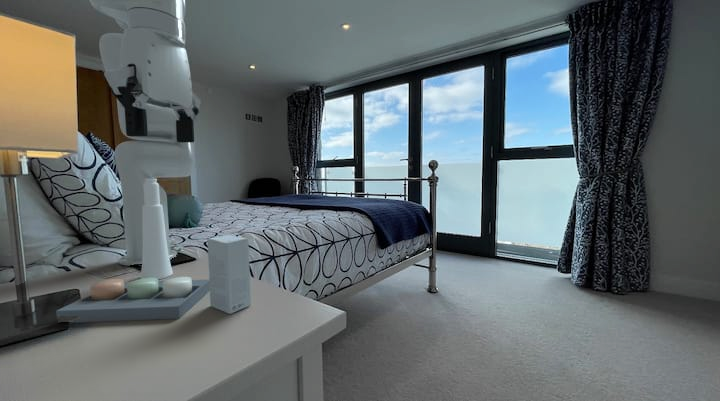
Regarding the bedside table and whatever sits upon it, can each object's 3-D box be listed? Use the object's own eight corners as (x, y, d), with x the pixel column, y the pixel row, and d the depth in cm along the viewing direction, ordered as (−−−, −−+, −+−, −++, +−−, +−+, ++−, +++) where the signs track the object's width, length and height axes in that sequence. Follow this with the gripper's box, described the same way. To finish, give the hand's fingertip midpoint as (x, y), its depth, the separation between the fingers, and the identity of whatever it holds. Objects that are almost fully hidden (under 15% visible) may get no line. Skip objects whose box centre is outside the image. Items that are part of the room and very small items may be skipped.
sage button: (138, 290, 54) (137, 278, 53) (164, 290, 54) (163, 277, 54) (121, 301, 49) (120, 287, 49) (148, 300, 50) (147, 286, 49)
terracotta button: (105, 291, 53) (104, 279, 53) (130, 291, 54) (129, 278, 53) (84, 302, 49) (83, 288, 49) (112, 301, 49) (111, 287, 49)
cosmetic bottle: (140, 275, 67) (133, 178, 65) (171, 270, 70) (166, 178, 68) (140, 283, 62) (133, 178, 60) (174, 277, 66) (168, 178, 64)
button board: (115, 292, 57) (114, 282, 57) (211, 289, 58) (210, 279, 58) (57, 323, 45) (56, 310, 45) (179, 318, 47) (178, 306, 46)
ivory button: (172, 289, 54) (171, 277, 54) (196, 288, 54) (196, 276, 54) (157, 299, 50) (156, 286, 50) (184, 298, 50) (183, 285, 50)
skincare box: (251, 305, 51) (249, 238, 50) (229, 315, 48) (226, 243, 47) (231, 297, 55) (229, 234, 53) (209, 306, 51) (205, 238, 50)
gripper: (179, 54, 57) (183, 144, 58) (79, 4, 40) (89, 133, 41) (213, 52, 55) (217, 144, 57) (126, 0, 38) (135, 132, 40)
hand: (163, 139), depth 49 cm, fingers open, 9 cm apart
